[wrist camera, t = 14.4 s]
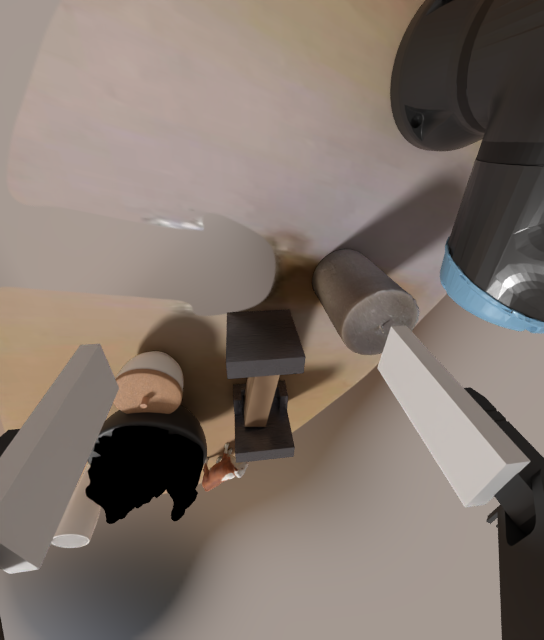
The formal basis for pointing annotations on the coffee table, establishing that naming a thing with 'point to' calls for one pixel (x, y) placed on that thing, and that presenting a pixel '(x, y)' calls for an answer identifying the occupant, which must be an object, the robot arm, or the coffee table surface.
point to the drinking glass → (78, 517)
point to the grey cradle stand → (263, 360)
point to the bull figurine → (222, 470)
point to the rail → (259, 399)
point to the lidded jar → (149, 384)
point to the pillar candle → (362, 301)
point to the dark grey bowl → (146, 461)
